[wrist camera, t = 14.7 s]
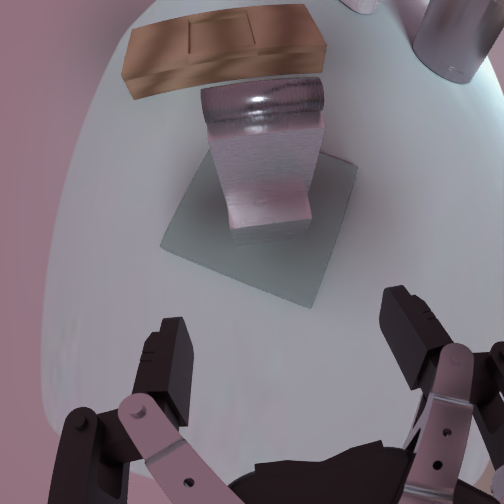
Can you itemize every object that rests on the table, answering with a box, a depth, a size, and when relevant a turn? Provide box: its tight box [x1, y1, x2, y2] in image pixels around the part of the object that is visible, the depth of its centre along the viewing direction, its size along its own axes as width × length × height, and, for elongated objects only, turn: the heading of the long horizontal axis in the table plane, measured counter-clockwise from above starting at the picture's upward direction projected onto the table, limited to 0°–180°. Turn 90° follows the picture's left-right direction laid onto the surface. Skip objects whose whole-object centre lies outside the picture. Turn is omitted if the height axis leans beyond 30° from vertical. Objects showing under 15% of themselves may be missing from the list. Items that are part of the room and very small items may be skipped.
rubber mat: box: [160, 149, 358, 309], centre depth 24 cm, size 12×12×1 cm
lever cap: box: [201, 77, 326, 247], centre depth 17 cm, size 5×6×12 cm
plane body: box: [121, 4, 327, 100], centre depth 27 cm, size 20×9×4 cm, turn 98°
